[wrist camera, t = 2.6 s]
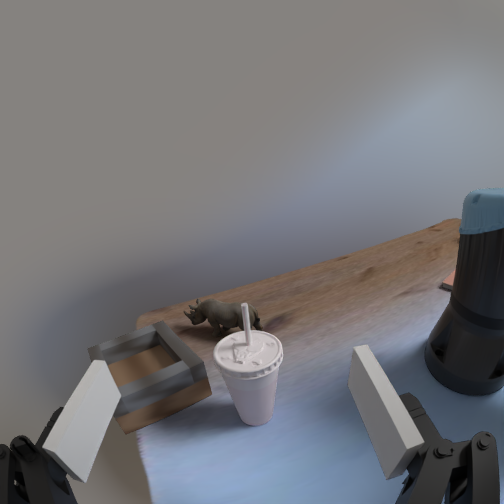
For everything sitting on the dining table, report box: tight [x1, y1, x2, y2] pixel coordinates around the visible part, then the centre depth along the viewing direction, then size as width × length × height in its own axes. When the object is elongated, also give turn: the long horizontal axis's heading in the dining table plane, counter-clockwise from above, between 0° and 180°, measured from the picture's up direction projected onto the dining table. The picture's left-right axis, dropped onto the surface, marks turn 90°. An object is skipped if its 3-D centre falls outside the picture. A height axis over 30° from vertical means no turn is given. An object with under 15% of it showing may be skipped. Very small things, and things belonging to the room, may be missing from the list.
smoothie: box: [213, 303, 283, 426], centre depth 25 cm, size 6×6×14 cm
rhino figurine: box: [184, 299, 263, 337], centre depth 43 cm, size 4×14×6 cm, turn 68°
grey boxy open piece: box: [88, 320, 212, 434], centre depth 31 cm, size 12×12×6 cm
